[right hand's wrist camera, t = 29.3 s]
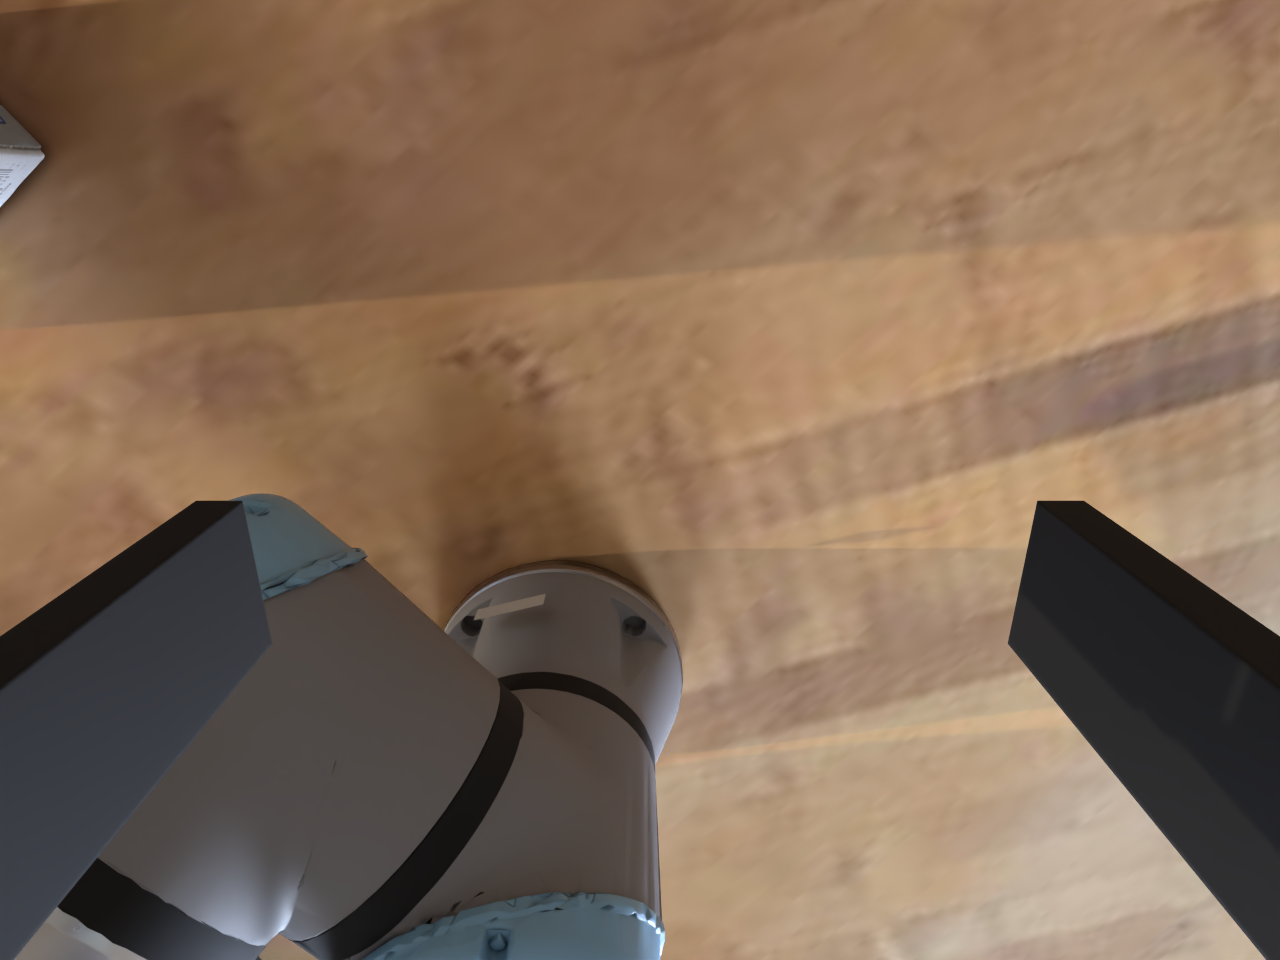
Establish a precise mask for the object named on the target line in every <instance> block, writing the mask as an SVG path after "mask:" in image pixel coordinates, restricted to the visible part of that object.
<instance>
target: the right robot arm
mask: <svg viewBox="0 0 1280 960" xmlns="http://www.w3.org/2000/svg"><path fill="white" fill-rule="evenodd" d="M366 557H368V556H367V555H366V553H365V552H364V551H363V550H362V549H360V548H351V547H350V546H348V545H347V544H346V543H345V542H343V541H342V540H341V539H340V538H338V537H337V536H336V535H335V534H333V533H332V532H331V531H330V530H328V529H327V528H326V527H325V526H324V525H322V524H321V523H320V522H319V521H317V520H316V519H315V518H314V517H312V516H311V515H310V514H309V513H308V512H306V511H305V510H304V509H303V508H301V507H300V506H299V505H297V504H296V503H294V502H293V501H291V500H289V499H287V498H284V497H281V496H277V495H272V494H250V495H245V496H241V497H238V498H235V499H232V500H229V501H195V502H194V503H192V504H191V505H189V506H188V507H187V508H185V509H184V510H182V511H181V512H179V513H178V514H176V515H175V516H174V517H172V518H171V519H169V520H168V521H166V522H165V523H163V524H162V525H161V526H159V527H158V528H156V529H155V530H153V531H152V532H150V533H149V534H148V535H146V536H145V537H143V538H142V539H140V540H139V541H137V542H136V543H135V544H133V545H132V546H130V547H129V548H127V549H126V550H124V551H123V552H122V553H120V554H119V555H117V556H116V557H114V558H113V559H112V560H110V561H109V562H107V563H106V564H104V565H103V566H101V567H100V568H99V569H97V570H96V571H94V572H93V573H91V574H90V575H88V576H87V577H86V578H84V579H83V580H81V581H80V582H78V583H77V584H75V585H74V586H73V587H71V588H70V589H68V590H67V591H65V592H64V593H62V594H61V595H60V596H58V597H57V598H55V599H54V600H52V601H51V602H49V603H48V604H47V605H45V606H44V607H42V608H41V609H39V610H38V611H36V612H35V613H34V614H32V615H31V616H29V617H28V618H26V619H25V620H23V621H22V622H21V623H19V624H18V625H16V626H15V627H13V628H12V629H10V630H9V631H8V632H6V633H5V634H3V635H2V636H0V960H255V959H256V958H257V957H258V956H259V954H260V953H261V952H262V950H263V949H264V948H265V947H266V945H267V944H268V943H269V941H270V940H271V939H272V938H273V937H274V936H275V935H276V934H278V933H279V934H281V935H282V936H284V937H286V938H288V939H289V940H291V941H293V942H294V943H296V944H297V945H299V946H300V947H301V948H303V949H304V950H306V951H307V952H309V953H310V954H312V955H313V956H315V957H316V958H317V959H318V960H660V956H661V953H662V948H663V946H664V943H665V930H664V925H663V922H662V914H661V891H660V869H659V847H658V824H657V802H656V780H655V764H656V762H657V760H658V757H659V755H660V753H661V751H662V748H663V746H664V744H665V741H666V739H667V737H668V735H669V732H670V730H671V728H672V726H673V723H674V721H675V718H676V715H677V713H678V709H679V704H680V698H681V693H682V683H683V677H682V662H681V654H680V648H679V644H678V641H677V638H676V635H675V633H674V630H673V628H672V626H671V624H670V622H669V620H668V619H667V617H666V616H665V614H664V613H663V611H662V610H661V609H660V608H659V606H658V605H657V604H656V603H655V602H654V601H653V600H652V599H651V598H650V597H649V596H648V595H647V594H646V593H645V592H644V591H642V590H641V589H640V588H639V587H637V586H636V585H634V584H633V583H631V582H630V581H628V580H627V579H625V578H623V577H621V576H619V575H617V574H615V573H612V572H610V571H608V570H605V569H602V568H599V567H596V566H592V565H588V564H583V563H578V562H570V561H542V562H534V563H528V564H524V565H520V566H516V567H513V568H510V569H507V570H505V571H503V572H500V573H498V574H496V575H494V576H492V577H490V578H489V579H487V580H485V581H484V582H482V583H481V584H480V585H478V586H477V587H475V588H474V589H473V590H472V591H471V592H470V593H469V594H468V595H467V596H466V597H465V598H464V599H463V600H462V601H461V602H460V603H459V605H458V606H457V607H456V609H455V610H454V612H453V613H452V615H451V617H450V619H449V620H448V623H447V625H446V627H445V629H444V631H443V630H442V629H441V628H440V627H439V626H438V625H437V624H436V623H434V622H433V621H432V620H431V619H430V618H429V617H428V616H427V615H426V614H424V613H423V612H422V611H421V610H420V609H419V608H418V607H417V606H416V605H415V604H413V603H412V602H411V601H410V600H409V599H408V598H407V597H406V596H405V595H403V594H402V593H401V592H400V591H399V590H398V589H397V588H396V587H395V586H393V585H392V584H391V583H390V582H389V581H388V580H387V579H386V578H385V577H383V576H382V575H381V574H380V573H379V572H378V571H377V570H376V569H375V568H373V567H372V566H371V565H370V564H369V563H368V562H367V561H366V560H365V558H366ZM1008 644H1009V646H1010V647H1011V648H1012V649H1013V650H1014V652H1015V653H1016V654H1017V655H1018V657H1019V658H1020V659H1021V660H1022V661H1023V663H1024V664H1025V665H1026V666H1027V668H1028V669H1029V670H1030V671H1031V672H1032V674H1033V675H1034V676H1035V677H1036V679H1037V680H1038V681H1039V682H1040V683H1041V685H1042V686H1043V687H1044V688H1045V690H1046V691H1047V692H1048V693H1049V694H1050V696H1051V697H1052V698H1053V699H1054V701H1055V702H1056V703H1057V704H1058V705H1059V707H1060V708H1061V709H1062V710H1063V712H1064V713H1065V714H1066V715H1067V717H1068V718H1069V719H1070V720H1071V721H1072V723H1073V724H1074V725H1075V726H1076V728H1077V729H1078V730H1079V731H1080V732H1081V734H1082V735H1083V736H1084V737H1085V739H1086V740H1087V741H1088V742H1089V743H1090V745H1091V746H1092V747H1093V748H1094V750H1095V751H1096V752H1097V753H1098V754H1099V756H1100V757H1101V758H1102V759H1103V761H1104V762H1105V763H1106V764H1107V765H1108V767H1109V768H1110V769H1111V770H1112V772H1113V773H1114V774H1115V775H1116V776H1117V778H1118V779H1119V780H1120V781H1121V783H1122V784H1123V785H1124V786H1125V787H1126V789H1127V790H1128V791H1129V792H1130V794H1131V795H1132V796H1133V797H1134V798H1135V800H1136V801H1137V802H1138V803H1139V805H1140V806H1141V807H1142V808H1143V809H1144V811H1145V812H1146V813H1147V814H1148V816H1149V817H1150V818H1151V819H1152V821H1153V822H1154V823H1155V824H1156V825H1157V827H1158V828H1159V829H1160V830H1161V832H1162V833H1163V834H1164V835H1165V836H1166V838H1167V839H1168V840H1169V841H1170V843H1171V844H1172V845H1173V846H1174V847H1175V849H1176V850H1177V851H1178V852H1179V854H1180V855H1181V856H1182V857H1183V858H1184V860H1185V861H1186V862H1187V863H1188V865H1189V866H1190V867H1191V868H1192V869H1193V871H1194V872H1195V873H1196V874H1197V876H1198V877H1199V878H1200V879H1201V880H1202V882H1203V883H1204V884H1205V885H1206V887H1207V888H1208V889H1209V890H1210V891H1211V893H1212V894H1213V895H1214V896H1215V898H1216V899H1217V900H1218V901H1219V902H1220V904H1221V905H1222V906H1223V907H1224V909H1225V910H1226V911H1227V912H1228V913H1229V915H1230V916H1231V917H1232V918H1233V920H1234V921H1235V922H1236V923H1237V925H1238V926H1239V927H1240V928H1241V929H1242V931H1243V932H1244V933H1245V934H1246V936H1247V937H1248V938H1249V939H1250V940H1251V942H1252V943H1253V944H1254V945H1255V947H1256V948H1257V949H1258V950H1259V951H1260V953H1261V954H1262V955H1263V956H1264V958H1265V959H1266V960H1280V636H1278V635H1277V634H1275V633H1274V632H1272V631H1271V630H1270V629H1268V628H1267V627H1265V626H1264V625H1262V624H1261V623H1259V622H1258V621H1257V620H1255V619H1254V618H1252V617H1251V616H1249V615H1248V614H1246V613H1245V612H1244V611H1242V610H1241V609H1239V608H1238V607H1236V606H1235V605H1233V604H1232V603H1231V602H1229V601H1228V600H1226V599H1225V598H1223V597H1222V596H1220V595H1219V594H1218V593H1216V592H1215V591H1213V590H1212V589H1210V588H1209V587H1207V586H1206V585H1205V584H1203V583H1202V582H1200V581H1199V580H1197V579H1196V578H1194V577H1193V576H1192V575H1190V574H1189V573H1187V572H1186V571H1184V570H1183V569H1181V568H1180V567H1179V566H1177V565H1176V564H1174V563H1173V562H1171V561H1170V560H1168V559H1167V558H1166V557H1164V556H1163V555H1161V554H1160V553H1158V552H1157V551H1155V550H1154V549H1153V548H1151V547H1150V546H1148V545H1147V544H1145V543H1144V542H1143V541H1141V540H1140V539H1138V538H1137V537H1135V536H1134V535H1132V534H1131V533H1130V532H1128V531H1127V530H1125V529H1124V528H1122V527H1121V526H1119V525H1118V524H1117V523H1115V522H1114V521H1112V520H1111V519H1109V518H1108V517H1106V516H1105V515H1104V514H1102V513H1101V512H1099V511H1098V510H1096V509H1095V508H1093V507H1092V506H1091V505H1089V504H1088V503H1086V502H1085V501H1037V505H1036V510H1035V515H1034V520H1033V525H1032V530H1031V534H1030V539H1029V544H1028V549H1027V554H1026V559H1025V563H1024V568H1023V573H1022V578H1021V583H1020V588H1019V592H1018V597H1017V602H1016V607H1015V612H1014V616H1013V621H1012V626H1011V631H1010V636H1009V641H1008Z"/></svg>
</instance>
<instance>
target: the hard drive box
mask: <svg viewBox="0 0 1280 960" xmlns="http://www.w3.org/2000/svg"><path fill="white" fill-rule="evenodd" d="M40 148H41V145H40V144H39V143H38V142H37V141H36V140H35V139H34V138H33V137H32V136H31V135H30V134H29V133H28V132H27V131H26V130H25V129H24V128H23V127H22V126H21V125H20V124H19V123H18V122H17V121H16V120H15V119H14V118H13V117H12V116H11V115H10V114H9V113H8V111H7V110H6V109H5V108H4V107H3V106H2V105H1V104H0V207H1V206H2V205H3V204H4V203H5V201H6V200H7V199H8V198H9V197H10V196H11V195H12V194H13V192H14V191H15V190H16V188H17V187H18V186H19V185H20V184H21V183H22V181H23V180H24V179H25V178H26V177H27V176H28V175H29V174H30V173H31V172H32V171H33V170H34V169H35V167H36V166H37V165H38V164H39V163H40V162H41V161H42V160H43V159H44V157H45V155H44V154H43V153H42V152H41V150H40Z"/></svg>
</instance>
